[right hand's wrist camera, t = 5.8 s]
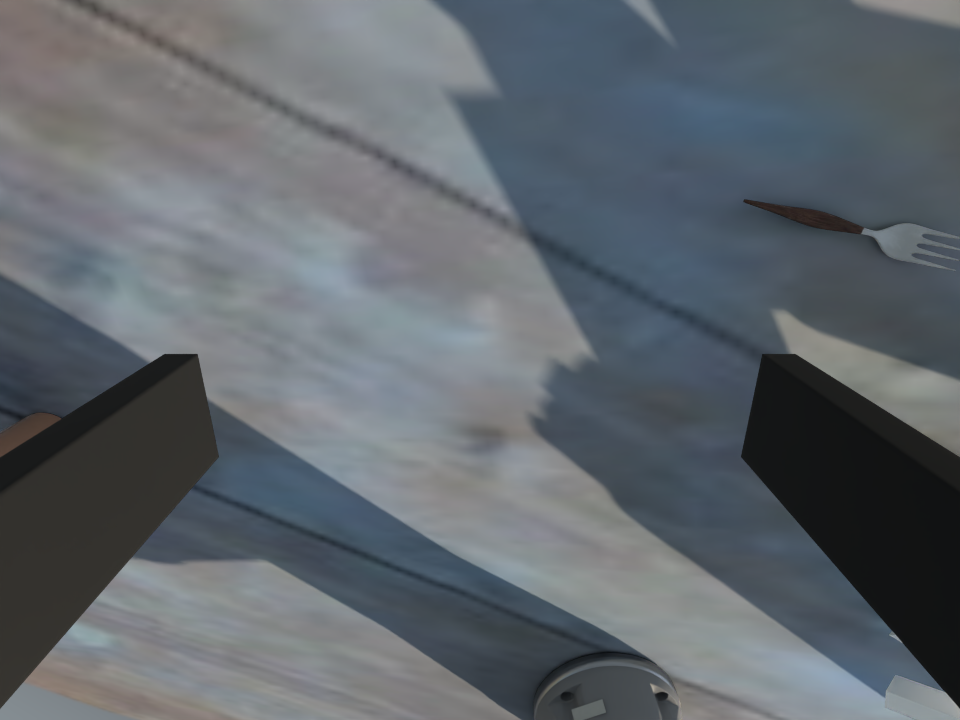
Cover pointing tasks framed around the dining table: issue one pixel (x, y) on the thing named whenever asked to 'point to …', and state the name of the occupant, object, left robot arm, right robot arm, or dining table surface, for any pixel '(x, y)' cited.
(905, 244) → the fork
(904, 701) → the white plastic object
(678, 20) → the dining table surface
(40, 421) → the brown tube
